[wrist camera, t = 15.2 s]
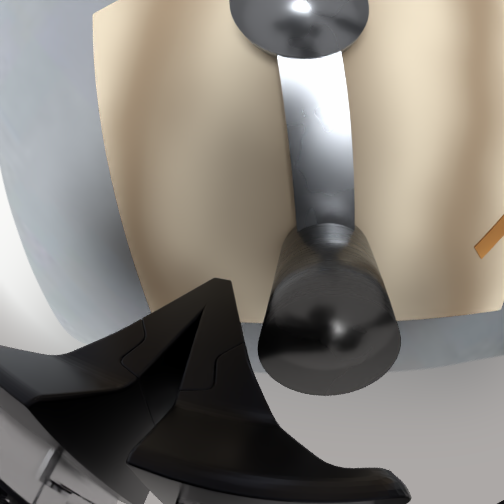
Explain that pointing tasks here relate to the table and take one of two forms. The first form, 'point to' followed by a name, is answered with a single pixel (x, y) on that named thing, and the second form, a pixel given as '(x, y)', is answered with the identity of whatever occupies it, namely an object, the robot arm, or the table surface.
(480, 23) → the crank plate
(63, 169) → the table surface
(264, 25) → the crank
